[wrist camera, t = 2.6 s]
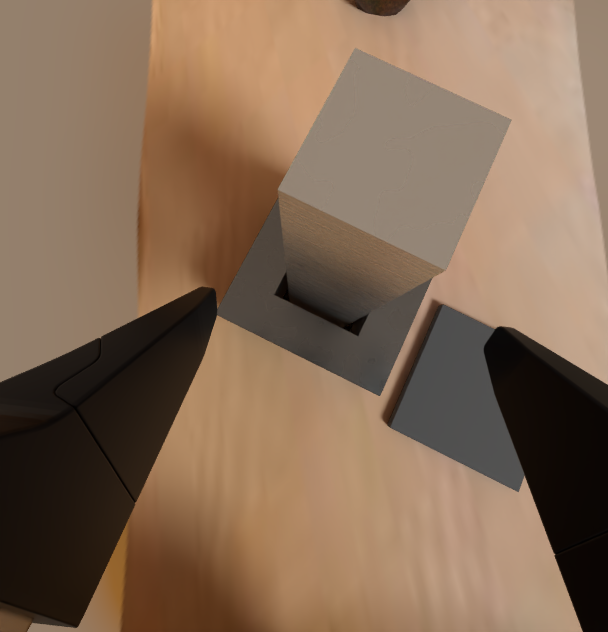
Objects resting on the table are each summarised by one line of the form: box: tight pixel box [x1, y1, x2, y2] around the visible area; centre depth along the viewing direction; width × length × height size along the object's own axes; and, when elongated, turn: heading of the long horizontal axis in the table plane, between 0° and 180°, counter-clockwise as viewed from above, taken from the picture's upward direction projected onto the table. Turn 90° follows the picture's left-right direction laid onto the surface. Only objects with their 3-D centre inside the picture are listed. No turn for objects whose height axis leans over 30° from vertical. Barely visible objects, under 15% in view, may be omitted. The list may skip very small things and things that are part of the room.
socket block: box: [217, 198, 432, 396], centre depth 18 cm, size 10×10×4 cm
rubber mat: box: [387, 305, 524, 492], centre depth 19 cm, size 9×9×1 cm
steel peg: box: [278, 48, 511, 328], centre depth 13 cm, size 4×4×14 cm
